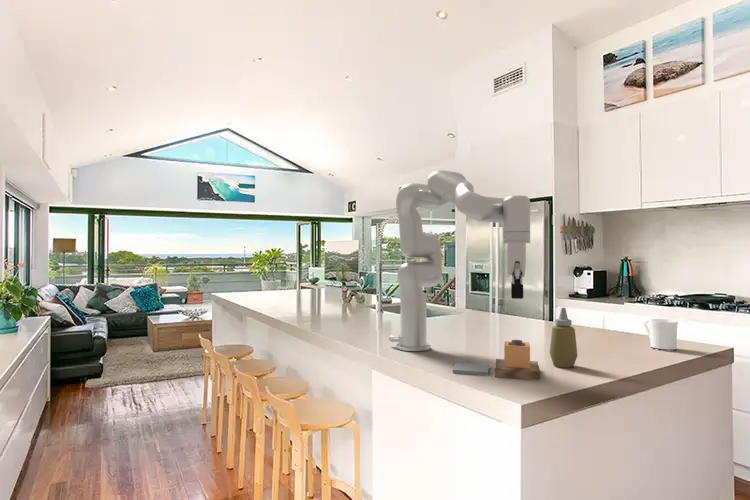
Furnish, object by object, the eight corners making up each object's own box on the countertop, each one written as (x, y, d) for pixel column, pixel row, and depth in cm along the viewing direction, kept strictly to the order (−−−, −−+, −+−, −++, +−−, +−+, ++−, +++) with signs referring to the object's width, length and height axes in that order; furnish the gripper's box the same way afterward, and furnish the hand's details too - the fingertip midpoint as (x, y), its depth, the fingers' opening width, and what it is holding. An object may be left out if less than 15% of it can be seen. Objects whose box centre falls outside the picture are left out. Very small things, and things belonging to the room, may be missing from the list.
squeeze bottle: (544, 366, 148) (544, 308, 149) (556, 361, 154) (556, 305, 154) (570, 370, 143) (570, 310, 143) (581, 366, 148) (581, 308, 148)
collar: (504, 366, 137) (504, 345, 137) (504, 361, 144) (504, 341, 144) (530, 368, 135) (530, 347, 135) (529, 362, 142) (529, 342, 142)
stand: (495, 377, 136) (495, 343, 136) (496, 367, 147) (496, 336, 147) (539, 380, 132) (539, 345, 132) (537, 369, 144) (537, 338, 144)
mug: (681, 349, 174) (681, 320, 174) (672, 352, 168) (672, 323, 168) (649, 344, 182) (649, 317, 182) (639, 347, 177) (639, 319, 177)
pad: (452, 373, 140) (452, 369, 140) (456, 365, 149) (456, 362, 149) (488, 375, 137) (488, 372, 137) (489, 367, 147) (489, 364, 147)
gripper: (503, 239, 149) (504, 294, 149) (503, 237, 133) (503, 299, 132) (529, 238, 147) (529, 294, 147) (531, 237, 130) (531, 300, 130)
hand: (517, 296), depth 140 cm, fingers open, 9 cm apart
